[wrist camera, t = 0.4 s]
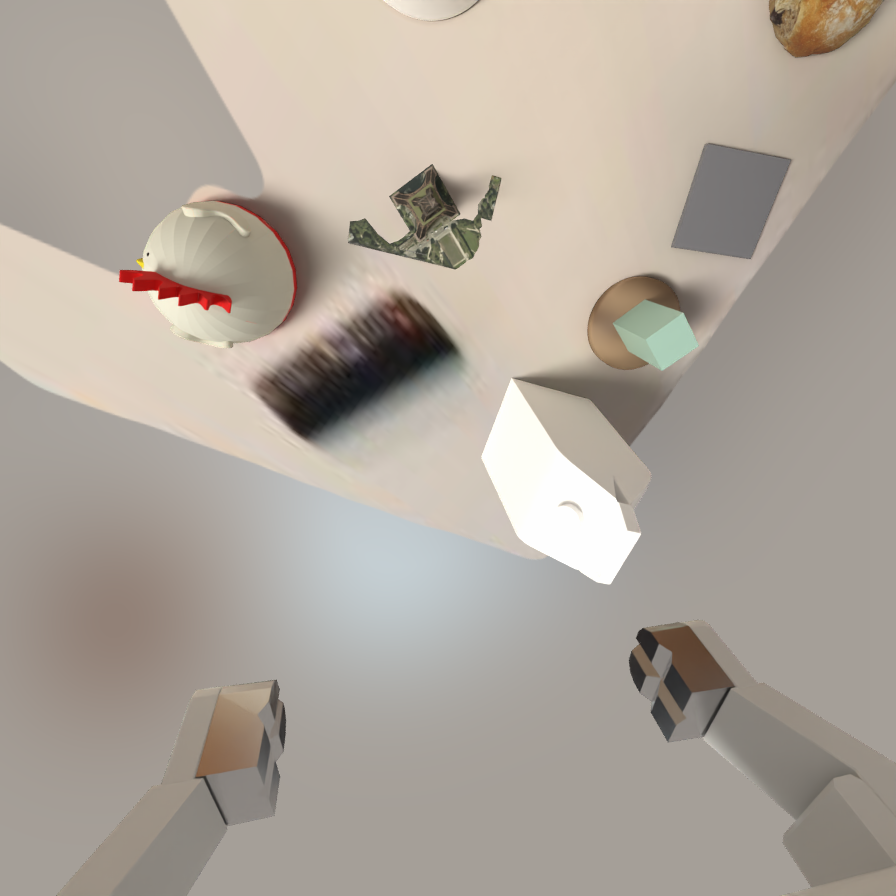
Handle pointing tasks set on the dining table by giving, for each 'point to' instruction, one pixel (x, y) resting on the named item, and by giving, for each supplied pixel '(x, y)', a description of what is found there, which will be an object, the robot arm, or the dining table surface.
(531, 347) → the dining table surface
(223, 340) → the kitchen timer
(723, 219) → the charcoal mat
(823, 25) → the bread roll
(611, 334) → the post stand
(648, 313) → the mint rectangular pillar
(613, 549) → the milk
